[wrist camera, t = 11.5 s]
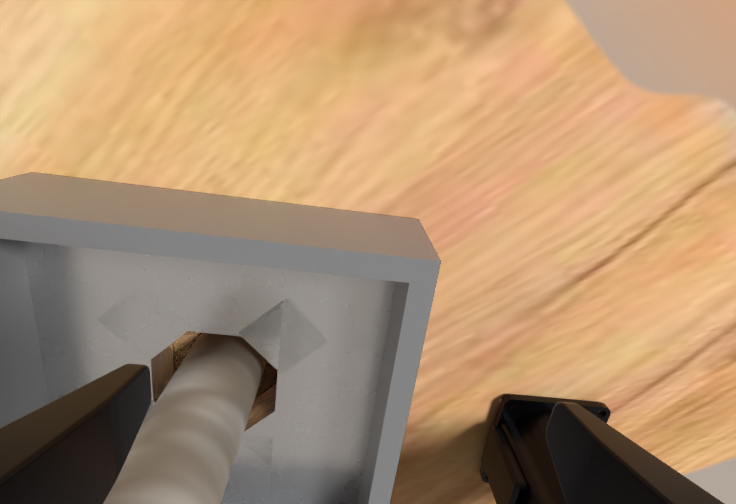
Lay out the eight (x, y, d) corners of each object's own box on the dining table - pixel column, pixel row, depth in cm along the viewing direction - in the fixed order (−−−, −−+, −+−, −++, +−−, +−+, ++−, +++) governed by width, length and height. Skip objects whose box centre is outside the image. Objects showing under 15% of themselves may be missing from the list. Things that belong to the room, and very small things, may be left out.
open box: (418, 219, 20) (441, 261, 15) (369, 486, 26) (373, 580, 21) (31, 172, 19) (-91, 200, 14) (76, 466, 25) (5, 562, 20)
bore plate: (395, 235, 20) (400, 253, 18) (355, 473, 26) (356, 511, 24) (57, 196, 19) (16, 210, 17) (92, 455, 25) (64, 493, 22)
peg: (268, 328, 22) (206, 499, 13) (265, 388, 23) (206, 582, 14) (192, 321, 22) (70, 490, 12) (193, 382, 23) (84, 576, 14)
